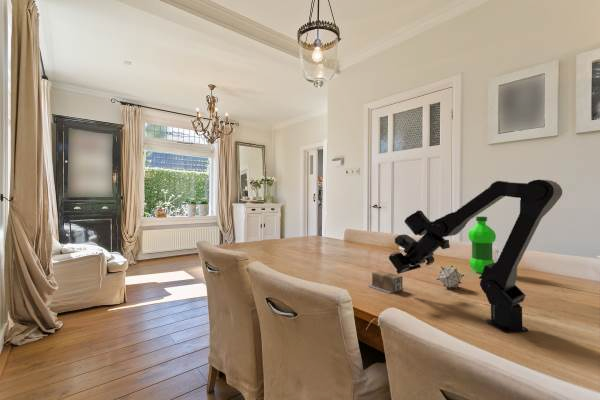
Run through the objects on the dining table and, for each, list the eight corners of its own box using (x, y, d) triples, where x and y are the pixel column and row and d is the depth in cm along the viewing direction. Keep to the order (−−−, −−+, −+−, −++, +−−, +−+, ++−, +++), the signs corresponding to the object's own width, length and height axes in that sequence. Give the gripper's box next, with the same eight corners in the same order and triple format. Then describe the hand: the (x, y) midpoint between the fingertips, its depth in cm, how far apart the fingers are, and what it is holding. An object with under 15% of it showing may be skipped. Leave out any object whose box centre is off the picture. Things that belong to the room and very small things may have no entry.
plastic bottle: (495, 271, 126) (494, 216, 125) (496, 276, 117) (495, 217, 116) (469, 268, 131) (468, 215, 131) (469, 273, 122) (468, 217, 122)
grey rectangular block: (402, 276, 101) (380, 270, 110) (393, 278, 98) (372, 272, 107) (402, 289, 101) (380, 283, 110) (393, 292, 98) (372, 285, 107)
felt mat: (403, 289, 103) (403, 288, 103) (389, 293, 98) (389, 292, 98) (382, 282, 111) (382, 282, 111) (368, 286, 106) (368, 285, 106)
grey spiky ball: (456, 299, 102) (470, 282, 96) (433, 289, 104) (445, 272, 98) (453, 281, 109) (467, 264, 103) (432, 273, 111) (444, 256, 105)
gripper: (425, 225, 101) (400, 251, 110) (392, 229, 90) (367, 257, 99) (447, 250, 94) (418, 275, 103) (415, 257, 84) (386, 284, 93)
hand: (397, 272), depth 100 cm, fingers closed
